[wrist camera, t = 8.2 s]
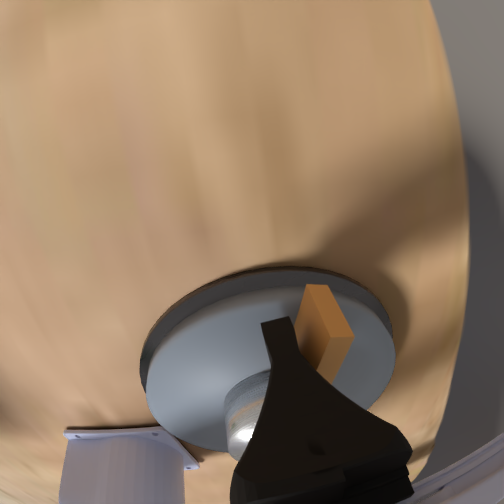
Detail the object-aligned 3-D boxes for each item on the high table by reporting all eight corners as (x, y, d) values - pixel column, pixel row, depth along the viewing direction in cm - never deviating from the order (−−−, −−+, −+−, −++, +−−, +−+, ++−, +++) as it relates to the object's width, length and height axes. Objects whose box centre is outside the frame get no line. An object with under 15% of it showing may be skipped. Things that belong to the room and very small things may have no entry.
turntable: (340, 431, 22) (355, 474, 18) (156, 437, 19) (155, 489, 16) (430, 274, 15) (476, 326, 11) (138, 256, 12) (116, 329, 9)
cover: (218, 427, 17) (223, 480, 14) (231, 365, 14) (239, 431, 11) (312, 423, 18) (326, 470, 15) (347, 363, 15) (371, 419, 12)
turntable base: (191, 445, 22) (191, 450, 21) (93, 305, 14) (90, 311, 14) (377, 402, 22) (379, 407, 21) (398, 233, 14) (403, 238, 14)
